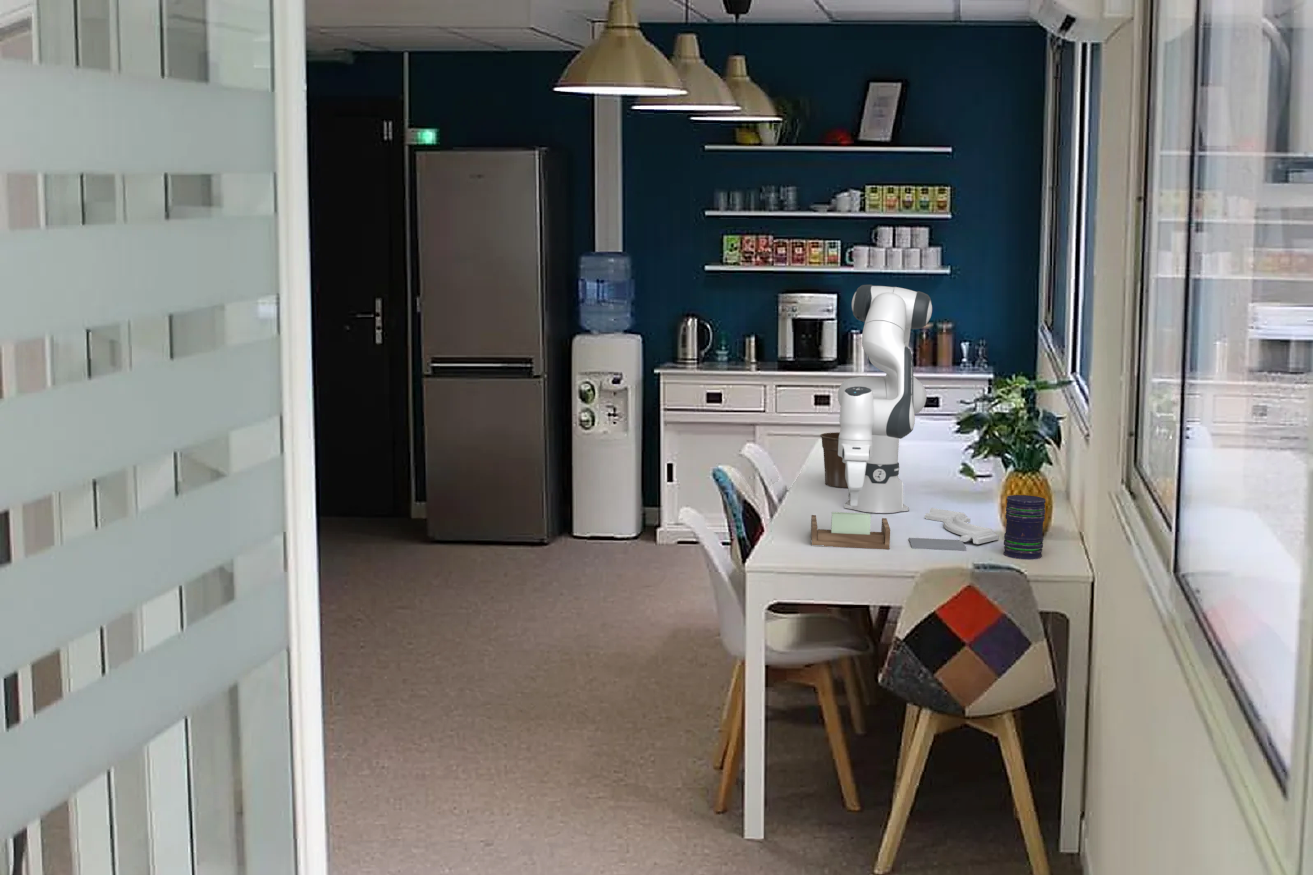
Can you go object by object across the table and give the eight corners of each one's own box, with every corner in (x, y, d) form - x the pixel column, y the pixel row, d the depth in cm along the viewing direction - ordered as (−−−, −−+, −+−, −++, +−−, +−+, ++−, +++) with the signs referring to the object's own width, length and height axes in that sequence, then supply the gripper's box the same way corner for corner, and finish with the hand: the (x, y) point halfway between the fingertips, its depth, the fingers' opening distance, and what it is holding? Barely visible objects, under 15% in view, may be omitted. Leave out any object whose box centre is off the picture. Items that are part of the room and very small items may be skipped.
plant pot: (813, 487, 514) (815, 436, 511) (823, 479, 529) (825, 430, 527) (864, 491, 509) (866, 440, 507) (872, 483, 524) (875, 434, 522)
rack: (810, 533, 437) (811, 514, 436) (885, 537, 435) (886, 518, 435) (811, 545, 421) (812, 526, 420) (889, 549, 420) (890, 529, 419)
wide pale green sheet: (830, 538, 426) (831, 511, 425) (869, 539, 425) (870, 513, 424) (831, 540, 423) (832, 513, 422) (869, 541, 422) (870, 515, 422)
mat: (908, 539, 433) (908, 537, 433) (961, 542, 432) (961, 540, 432) (911, 548, 422) (912, 545, 422) (966, 550, 421) (966, 548, 421)
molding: (920, 517, 468) (921, 507, 468) (961, 517, 470) (962, 507, 469) (963, 544, 426) (964, 533, 426) (1008, 545, 428) (1009, 534, 427)
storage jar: (1003, 558, 413) (1006, 500, 411) (1002, 550, 423) (1005, 494, 421) (1043, 560, 412) (1047, 502, 409) (1041, 553, 421) (1045, 496, 419)
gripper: (841, 444, 431) (838, 495, 433) (844, 454, 411) (842, 508, 413) (865, 445, 431) (862, 496, 432) (869, 455, 410) (867, 509, 412)
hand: (852, 502), depth 422 cm, fingers open, 8 cm apart
